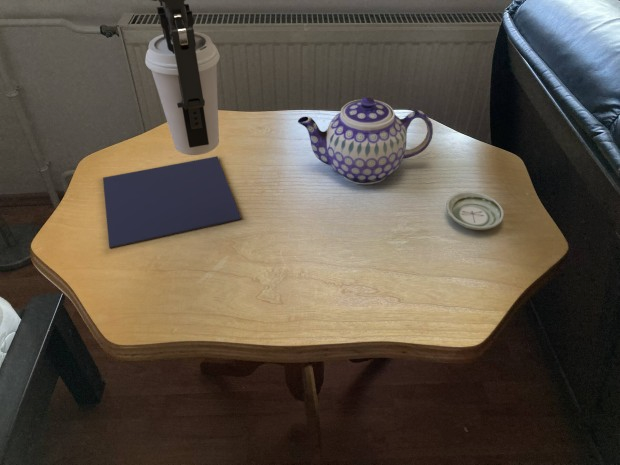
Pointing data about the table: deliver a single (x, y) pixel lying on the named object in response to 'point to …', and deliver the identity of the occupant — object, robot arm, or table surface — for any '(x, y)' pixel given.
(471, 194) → the saucer
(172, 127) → the coffee cup
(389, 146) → the teapot
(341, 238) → the table surface
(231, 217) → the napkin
